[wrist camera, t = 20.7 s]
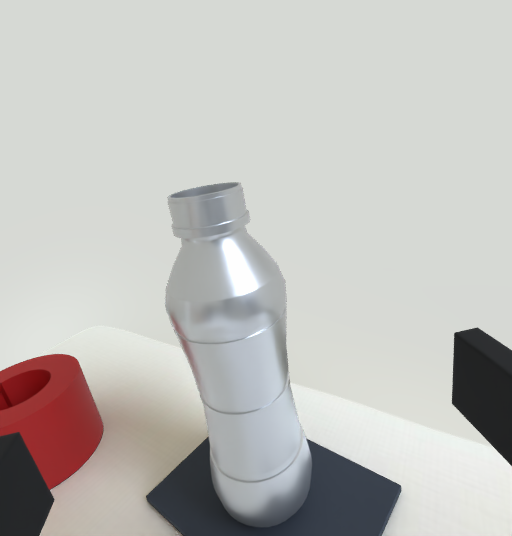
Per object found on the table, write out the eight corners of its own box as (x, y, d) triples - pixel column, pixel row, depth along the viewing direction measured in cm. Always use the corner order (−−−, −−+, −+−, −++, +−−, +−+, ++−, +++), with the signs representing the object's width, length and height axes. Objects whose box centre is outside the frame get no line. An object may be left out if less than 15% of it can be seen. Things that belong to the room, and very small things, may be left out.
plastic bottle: (215, 553, 20) (112, 216, 13) (222, 454, 27) (154, 191, 20) (326, 537, 20) (279, 187, 13) (306, 442, 27) (267, 172, 20)
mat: (401, 490, 23) (401, 485, 22) (323, 669, 16) (322, 663, 16) (241, 410, 32) (240, 405, 31) (147, 501, 25) (145, 496, 24)
